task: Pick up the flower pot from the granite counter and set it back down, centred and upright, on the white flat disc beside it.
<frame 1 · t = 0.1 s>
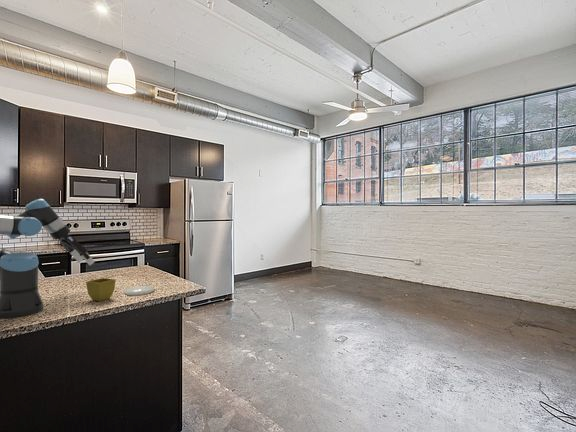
hand: (86, 262, 155), 15 cm above the counter, tool tilted 35°, fingers open, 13 cm apart
white flat disc: (139, 291, 158), on the counter
flower pot: (101, 299, 143), on the counter
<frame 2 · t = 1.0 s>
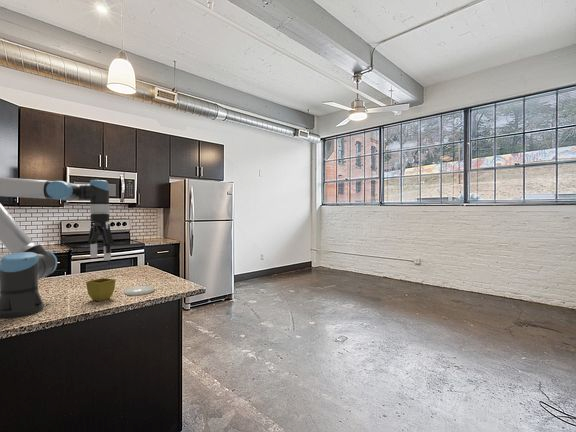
hand: (100, 258, 144), 19 cm above the counter, tool pointing down, fingers open, 13 cm apart
nothing on the counter moved.
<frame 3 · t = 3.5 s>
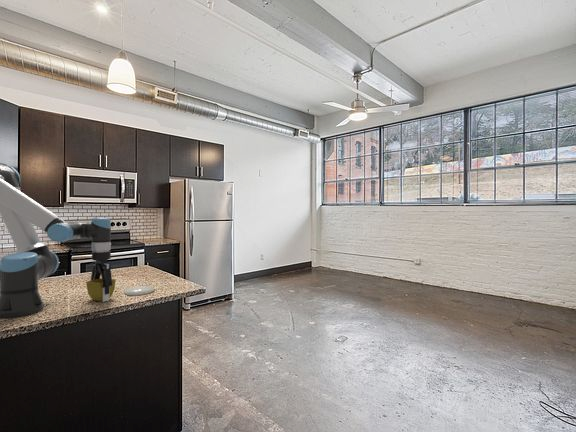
hand: (101, 298, 143), 0 cm above the counter, tool pointing down, fingers closed on flower pot, 10 cm apart
flower pot: (101, 299, 143), on the counter, touching gripper
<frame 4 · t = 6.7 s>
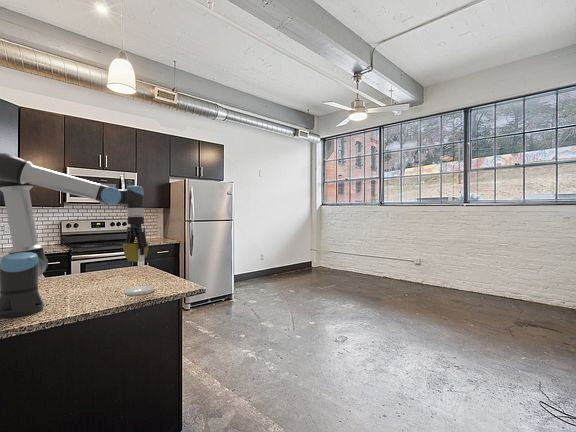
hand: (136, 260, 156), 16 cm above the counter, tool pointing down, fingers closed on flower pot, 9 cm apart
flower pot: (136, 261, 156), point 16 cm above the counter, touching gripper
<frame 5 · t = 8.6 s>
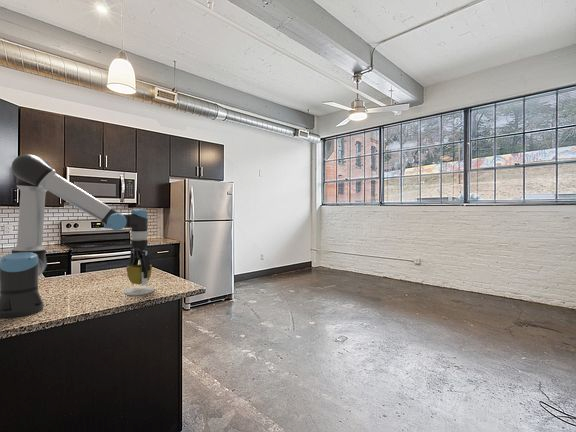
hand: (139, 282, 158), 4 cm above the counter, tool pointing down, fingers closed on flower pot, 9 cm apart
flower pot: (139, 283, 158), point 4 cm above the counter, touching gripper
when the fingers open (3 cm above the counter, at t = 9.8 s): flower pot drops 1 cm, resting on white flat disc.
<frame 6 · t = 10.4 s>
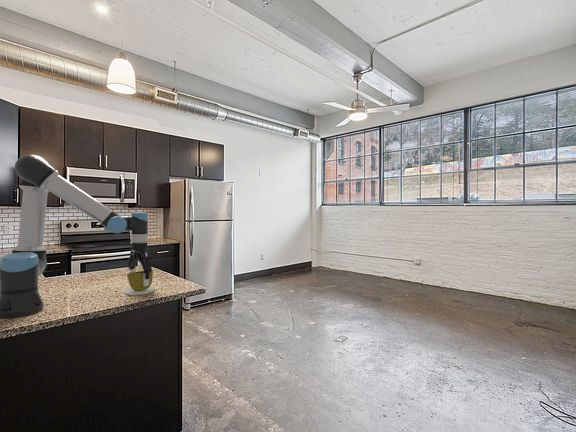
hand: (139, 283, 158), 4 cm above the counter, tool pointing down, fingers open, 13 cm apart
flower pot: (141, 290, 156), point 1 cm above the counter, touching gripper, white flat disc
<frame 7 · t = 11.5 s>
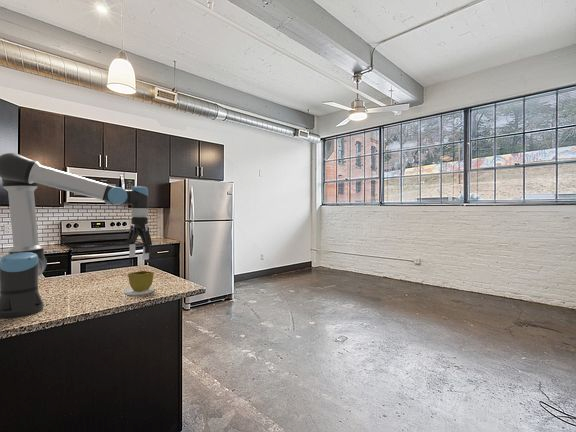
hand: (138, 258, 157), 17 cm above the counter, tool pointing down, fingers open, 13 cm apart
flower pot: (140, 290, 156), point 1 cm above the counter, touching white flat disc
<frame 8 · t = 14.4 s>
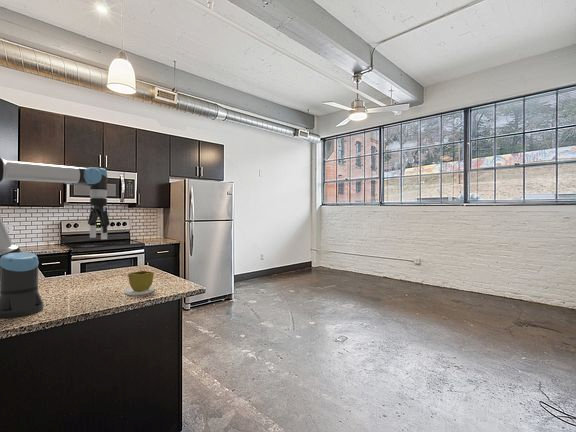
hand: (98, 238, 161), 27 cm above the counter, tool pointing down, fingers open, 13 cm apart
nothing on the counter moved.
at the end: flower pot 2.5 cm from the white flat disc (horizontally); flower pot touching white flat disc; flower pot tilted 0° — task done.
